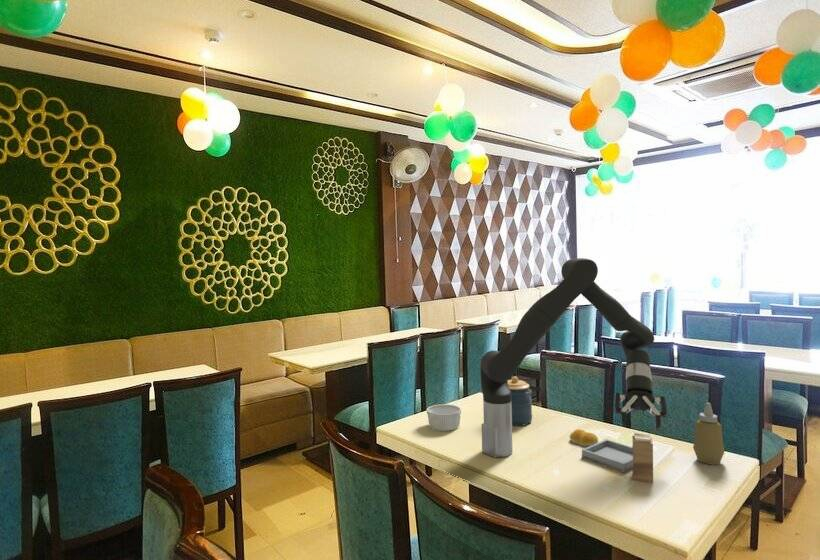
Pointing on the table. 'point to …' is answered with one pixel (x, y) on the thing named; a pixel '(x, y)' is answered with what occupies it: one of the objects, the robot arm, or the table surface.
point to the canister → (520, 401)
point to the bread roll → (583, 438)
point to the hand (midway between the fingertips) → (641, 427)
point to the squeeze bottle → (708, 438)
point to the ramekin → (444, 417)
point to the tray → (610, 455)
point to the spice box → (642, 458)
